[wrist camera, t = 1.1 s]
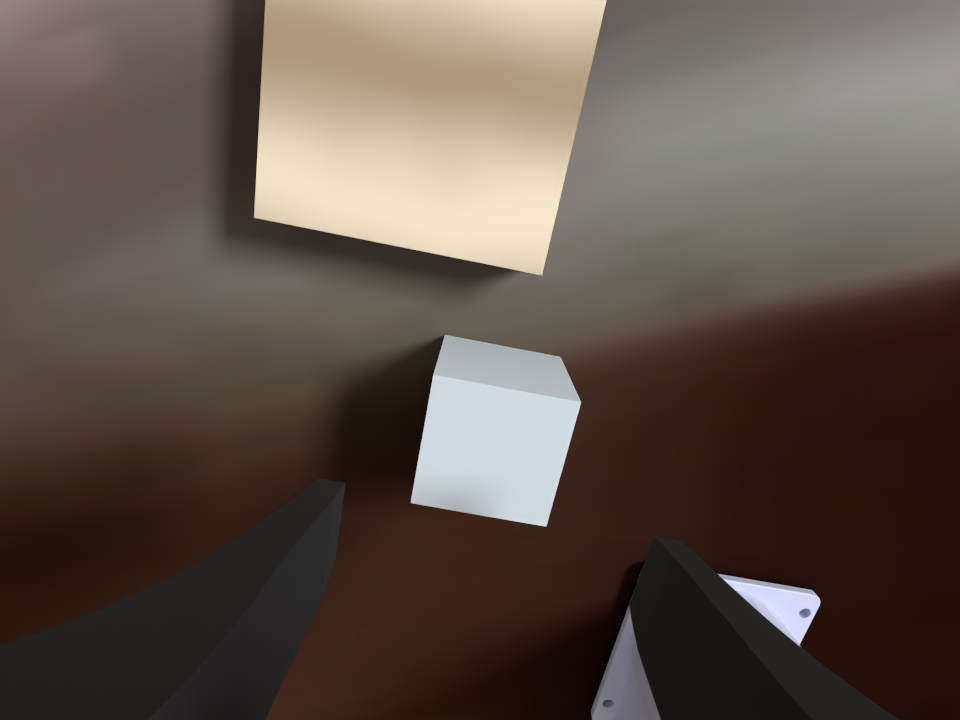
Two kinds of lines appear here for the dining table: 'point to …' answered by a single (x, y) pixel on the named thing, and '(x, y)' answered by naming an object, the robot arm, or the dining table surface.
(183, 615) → the robot arm
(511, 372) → the blue-grey cube
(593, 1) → the birch block
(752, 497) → the dining table surface
